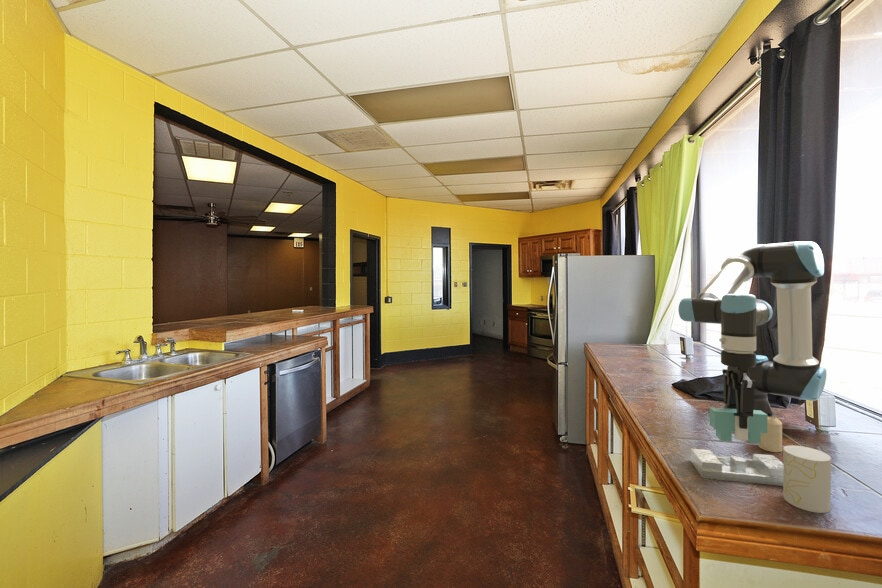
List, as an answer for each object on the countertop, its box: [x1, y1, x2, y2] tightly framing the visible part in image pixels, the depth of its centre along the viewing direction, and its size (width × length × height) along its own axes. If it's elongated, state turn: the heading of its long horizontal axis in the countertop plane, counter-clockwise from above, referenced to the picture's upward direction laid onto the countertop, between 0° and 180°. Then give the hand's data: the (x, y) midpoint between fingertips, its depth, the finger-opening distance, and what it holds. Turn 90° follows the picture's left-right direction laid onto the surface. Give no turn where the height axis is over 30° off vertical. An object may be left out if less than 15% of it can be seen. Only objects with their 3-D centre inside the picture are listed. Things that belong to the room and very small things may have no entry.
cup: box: [782, 445, 832, 514], centre depth 91 cm, size 8×8×12 cm
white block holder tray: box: [689, 448, 783, 487], centre depth 105 cm, size 20×10×4 cm, turn 74°
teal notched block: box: [709, 406, 767, 445], centre depth 104 cm, size 12×4×8 cm, turn 74°
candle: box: [758, 416, 783, 453], centre depth 118 cm, size 6×6×10 cm
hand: (737, 435), depth 104 cm, fingers closed on teal notched block, 3 cm apart
